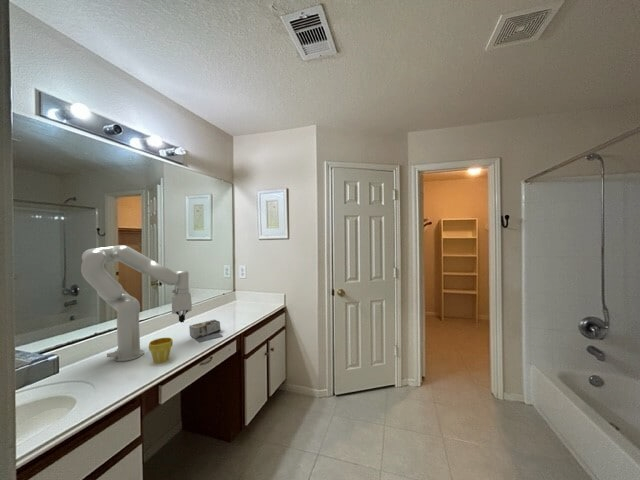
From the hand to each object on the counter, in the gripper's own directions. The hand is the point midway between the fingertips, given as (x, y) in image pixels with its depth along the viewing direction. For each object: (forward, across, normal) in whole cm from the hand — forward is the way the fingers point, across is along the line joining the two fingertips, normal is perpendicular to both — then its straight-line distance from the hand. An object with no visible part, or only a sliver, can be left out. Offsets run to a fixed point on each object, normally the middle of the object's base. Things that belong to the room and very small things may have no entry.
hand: (181, 321), depth 161 cm
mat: (+11, +14, 0) cm, 18 cm away
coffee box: (+8, +6, +1) cm, 10 cm away
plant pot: (+12, -14, -21) cm, 28 cm away
